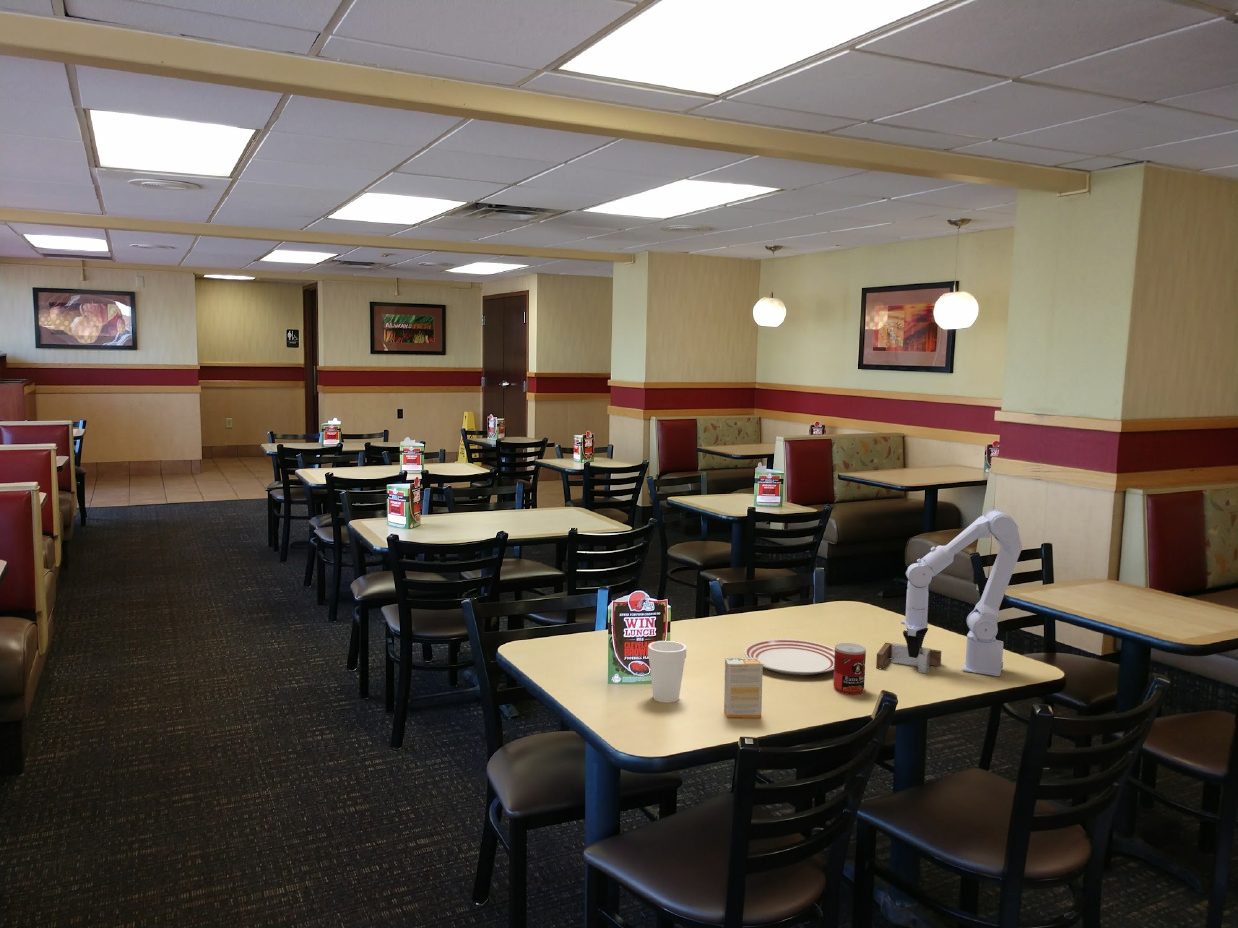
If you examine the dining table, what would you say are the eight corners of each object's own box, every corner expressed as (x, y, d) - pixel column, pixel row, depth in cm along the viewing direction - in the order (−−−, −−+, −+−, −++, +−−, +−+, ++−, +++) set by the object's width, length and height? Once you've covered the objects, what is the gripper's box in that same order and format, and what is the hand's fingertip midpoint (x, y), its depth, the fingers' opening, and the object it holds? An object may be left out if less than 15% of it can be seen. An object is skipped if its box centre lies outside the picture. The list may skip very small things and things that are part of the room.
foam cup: (693, 698, 219) (694, 646, 218) (667, 707, 213) (668, 654, 211) (664, 688, 226) (665, 638, 225) (639, 697, 219) (640, 645, 218)
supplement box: (757, 710, 212) (759, 656, 211) (761, 718, 207) (763, 663, 206) (723, 710, 212) (724, 656, 210) (726, 718, 207) (727, 663, 206)
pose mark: (930, 666, 247) (930, 666, 247) (927, 673, 241) (927, 673, 241) (895, 661, 251) (895, 660, 251) (891, 667, 245) (891, 667, 245)
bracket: (929, 665, 247) (930, 648, 247) (925, 673, 241) (926, 655, 241) (892, 660, 252) (893, 642, 251) (887, 667, 246) (888, 649, 245)
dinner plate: (856, 682, 234) (857, 669, 234) (752, 680, 234) (752, 668, 233) (831, 650, 261) (831, 639, 261) (737, 649, 261) (738, 638, 261)
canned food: (843, 695, 223) (844, 652, 222) (827, 685, 231) (829, 643, 230) (870, 693, 225) (872, 650, 224) (853, 682, 233) (855, 641, 232)
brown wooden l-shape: (940, 664, 249) (941, 650, 249) (934, 677, 238) (935, 662, 238) (884, 656, 256) (885, 642, 256) (876, 667, 245) (876, 653, 245)
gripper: (906, 599, 255) (904, 646, 256) (897, 610, 242) (894, 659, 243) (932, 602, 252) (929, 649, 253) (924, 614, 239) (921, 663, 240)
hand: (914, 654), depth 248 cm, fingers open, 4 cm apart
